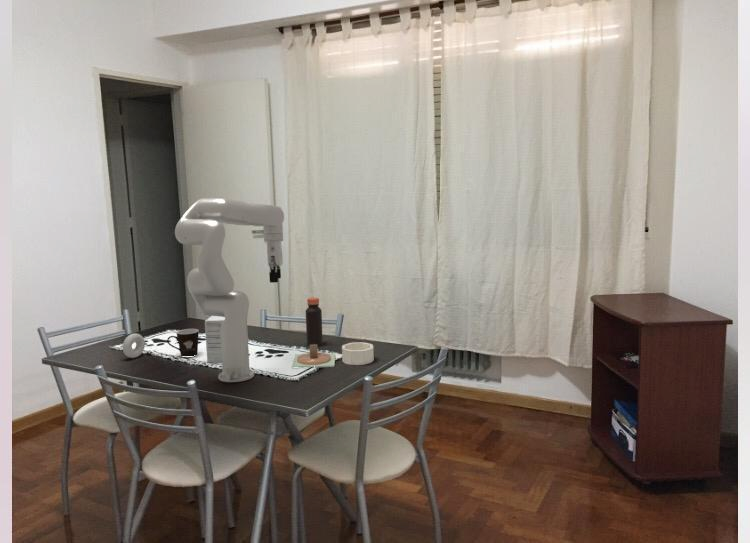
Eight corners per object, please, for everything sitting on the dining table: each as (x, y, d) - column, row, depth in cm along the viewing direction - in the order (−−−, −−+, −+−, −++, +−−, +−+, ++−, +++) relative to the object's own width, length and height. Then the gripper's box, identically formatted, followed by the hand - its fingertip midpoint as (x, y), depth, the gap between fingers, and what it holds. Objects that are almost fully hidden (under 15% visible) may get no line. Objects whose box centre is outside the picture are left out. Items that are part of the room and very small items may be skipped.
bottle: (318, 347, 246) (317, 300, 243) (304, 345, 248) (302, 299, 245) (325, 342, 252) (323, 297, 249) (310, 341, 254) (309, 296, 251)
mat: (334, 366, 219) (334, 365, 219) (291, 368, 218) (291, 366, 218) (335, 354, 235) (335, 353, 235) (295, 355, 234) (295, 354, 234)
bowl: (374, 364, 221) (373, 350, 220) (342, 365, 220) (342, 351, 219) (372, 355, 232) (372, 341, 232) (342, 356, 232) (342, 343, 231)
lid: (330, 364, 220) (329, 349, 219) (295, 365, 220) (295, 350, 219) (331, 354, 233) (330, 340, 232) (298, 355, 232) (298, 340, 232)
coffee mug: (203, 352, 241) (202, 328, 240) (195, 358, 233) (193, 334, 231) (176, 352, 243) (174, 328, 241) (167, 358, 234) (165, 334, 233)
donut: (127, 361, 231) (125, 337, 229) (121, 360, 232) (119, 336, 231) (147, 354, 240) (145, 331, 238) (141, 353, 241) (139, 330, 240)
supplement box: (230, 362, 227) (228, 320, 224) (206, 363, 227) (204, 320, 224) (236, 355, 236) (233, 314, 234) (213, 355, 236) (210, 315, 234)
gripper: (280, 239, 222) (282, 283, 225) (285, 235, 239) (287, 276, 242) (260, 239, 222) (263, 284, 224) (266, 235, 239) (268, 277, 241)
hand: (275, 280), depth 233 cm, fingers open, 9 cm apart
